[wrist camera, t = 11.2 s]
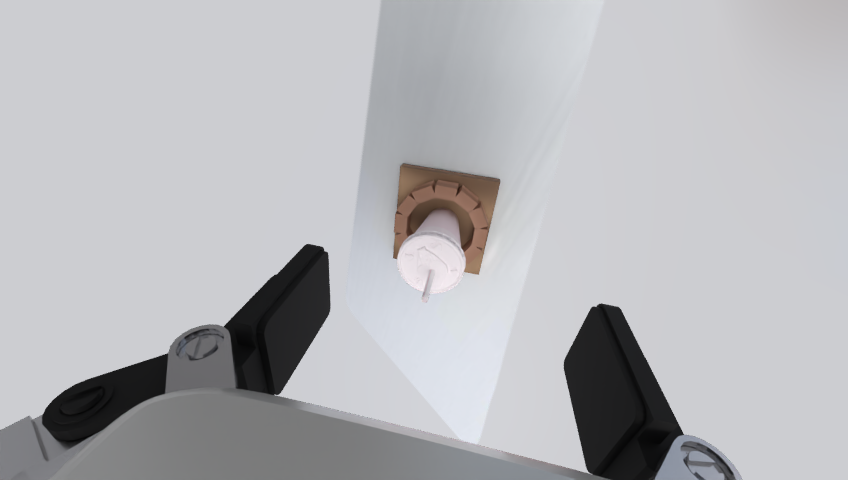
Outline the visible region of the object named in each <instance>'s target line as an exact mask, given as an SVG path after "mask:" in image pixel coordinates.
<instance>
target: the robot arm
mask: <svg viewBox="0 0 848 480" xmlns="http://www.w3.org/2000/svg"><path fill="white" fill-rule="evenodd" d="M329 285H330V284H329V259H328V253H327V252H325V251H324V248H323V247H320V246H316V245H311V244H306V245H305V246H304V247H303V248H302V249H301V250H300V251H299V252H298V253H297V254H296V255H295V256H294V257H293V258H292V259H291V260H290V262H289V263H287V265H286V266H285V267H284V268H283V269H282V270H281V271H280V272H279V273H278V274H277V275H274V276H273V277H271V278H270V280H268V281H267V283H265V285H264V286H263V287H262V288H261V289H260V290H259V291H258V292H257V293H256V294H255V295H254V296H253V297H252V298H251V299H250V300H249V301H248V302H247V303H246V304H245V305H244V306H243V307H242V309H240V310H239V311H238V312H237V313H236V314H235V315H234V317H233V318H231V320H230V321H229V322H228V323H227V324H226V325H225V326H224V327H222V326H219V325H204V326H199V327H196V328H193V329H190V330H188V331H187V332H185V333H183V334H182V335H180V336H179V337H178V338H177V339H175V341H174V342H173V344H172V345H171V346H170V349H169V352H168V354H165V355H162V356H159V357H156V358H153V359H149V360H146V361H143V362H140V363H137V364H134V365H131V366H128V367H125V368H122V369H119V370H116V371H112V372H110V373H106V374H103V375H100V376H97V377H94V378H91V379H88V380H85V381H83V382H80V383H78V384H75V385H74V386H72V387H70V388H69V389H67V390H65V391H64V392H62V393H61V394H60V395H59V396H57V397H56V398H55V399H54V400H53V401H52V402H51V403H50V404H49V405H48V407H47V408H46V409H45V412H44V414H43V415H41V416H39V417H37V418H35V419H32V418H31V417H30V416H28V417H26V418H24V419H22V420H20V421H18V422H16V423H14V424H12V425H10V426H8V427H6V428H4V429H2V430H0V480H742V478H741V476H740V474H739V472H738V471H737V469H736V468H735V466H734V465H733V464H732V463H731V462H730V460H729V459H728V458H727V457H726V456H725V455H724V454H723V453H721V452H720V451H719V450H718V449H717V448H715V447H714V446H712V445H711V444H709V443H707V442H706V441H704V440H702V439H700V438H697V437H695V436H689V435H684V434H683V432H682V430H681V428H680V426H679V424H678V422H677V420H676V418H675V416H674V414H673V412H672V410H671V408H670V406H669V404H668V402H667V400H666V398H665V396H664V394H663V392H662V391H661V388H660V386H659V384H658V382H657V380H656V378H655V376H654V374H653V372H652V370H651V368H650V366H649V364H648V362H647V360H646V358H645V357H644V355H643V353H642V351H641V349H640V347H639V345H638V343H637V341H636V339H635V337H634V335H633V333H632V331H631V329H630V327H629V325H628V323H627V321H626V319H625V317H624V315H623V313H622V311H621V309H620V308H619V307H615V306H611V305H606V304H599V305H597V307H592V308H591V309H590V311H589V313H588V315H587V317H586V319H585V321H584V323H583V325H582V327H581V329H580V331H579V333H578V335H577V336H576V339H575V341H574V342H573V345H572V346H571V348H570V350H569V352H568V354H567V356H566V358H565V360H564V371H565V375H566V380H567V385H568V389H569V393H570V398H571V402H572V407H573V411H574V415H575V419H576V424H577V428H578V432H579V437H580V441H581V446H582V451H583V455H584V459H585V464H586V467H587V470H588V472H589V473H591V474H593V475H591V474H588V473H584V472H580V471H577V470H573V469H569V468H566V467H562V466H558V465H554V464H550V463H546V462H543V461H539V460H535V459H531V458H527V457H523V456H519V455H515V454H511V453H507V452H503V451H500V450H496V449H492V448H488V447H484V446H480V445H476V444H472V443H468V442H464V441H460V440H456V439H452V438H448V437H443V436H440V435H436V434H432V433H428V432H424V431H420V430H416V429H412V428H408V427H404V426H400V425H396V424H392V423H388V422H384V421H380V420H376V419H372V418H368V417H364V416H359V415H355V414H351V413H347V412H343V411H339V410H335V409H331V408H327V407H322V406H319V405H314V404H310V403H306V402H301V401H297V400H292V399H288V398H284V397H279V396H275V395H274V394H276V395H278V394H280V393H281V391H282V390H283V388H284V386H285V385H286V383H287V382H288V380H289V379H290V377H291V375H292V374H293V372H294V370H295V369H296V367H297V365H298V364H299V362H300V361H301V359H302V357H303V356H304V354H305V352H306V351H307V349H308V348H309V346H310V344H311V343H312V341H313V340H314V338H315V336H316V335H317V333H318V331H319V330H320V328H321V327H322V325H323V323H324V322H325V320H326V318H327V317H328V315H329V312H330V286H329Z"/></svg>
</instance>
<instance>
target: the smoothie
mask: <svg viewBox="0 0 848 480" xmlns="http://www.w3.org/2000/svg"><path fill="white" fill-rule="evenodd" d="M397 266H398V270H399V273H400V275H401V276H402V278H403V279H404V280H405V281H406V282H407V283H408V284H409V285H410V286H412V287H413V288H415V289H417V290H419V291H422V292H423V295H422V299H421V301H422V302H423V303H427V302H428V299H429V295H430V293H442V292H446V291H448V290H450V289H452V288H454V287H455V286H456V285H457V284H458V283H459V282H460V280H461V279H462V277H463V274H464V269H465V266H466V258H465V255H464V252H463V250H462V248H461V242H460V232H459V222H458V218H457V216H456V214H455V213H454V212H453V211H451V210H449V209H447V208H438V209H435V210H433V211H432V212H431V213H430V214H429V215H428V217H427V218H426V219H425V221H424V222H423V223H422V224H421V226H420V227H419V228H418V229H417V231H416V232H415V233H414V234H412V235H410V236H409V237H408V238H407V239H406V240H405V241H404V242H403V243H402V245H401V247H400V250H399V253H398V257H397Z"/></svg>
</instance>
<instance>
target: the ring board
mask: <svg viewBox="0 0 848 480" xmlns="http://www.w3.org/2000/svg"><path fill="white" fill-rule="evenodd" d="M499 185H500V179H495V178H488V177H482V176H476V175H470V174H464V173H457V172H451V171H445V170H439V169H433V168H426V167H420V166H414V165H408V164H402V165H401V166H400V179H399V192H398V204H397V212H396V214H395V227H394V232H395V242H394V254H393V258H395V259H397V257H398V253H399V250H400V247H401V245H402V243H403V242H404V241H405V240H406V239H407V238H408V237H409V236H410V235H412V234H414V233H415V232H416V231H417V229H418V228H419V227H420V226H421V224H422V223H423V222H424V221H425V219H426V218H427V217H428V215H429V214H430V213H431V212H432V211H433V210H435V209H438V208H447V209H449V210H451V211H453V212H454V213H455V214H456V216H457V218H458V222H459V232H460V242H461V248H462V250H463V252H464V255H465V258H466V266H465V269H464V272H468V273H473V274H478V275H479V271H480V267H481V262H482V258H483V254H484V249H485V245H486V241H487V237H488V232H489V228H490V224H491V219H492V215H493V211H494V206H495V202H496V198H497V194H498V189H499Z"/></svg>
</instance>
